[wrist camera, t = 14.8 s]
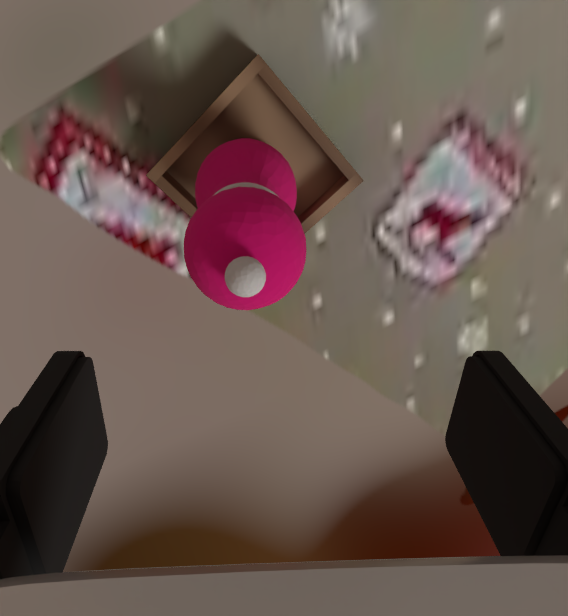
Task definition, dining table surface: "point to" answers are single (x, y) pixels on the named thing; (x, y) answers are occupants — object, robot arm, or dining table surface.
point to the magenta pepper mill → (245, 226)
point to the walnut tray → (269, 129)
